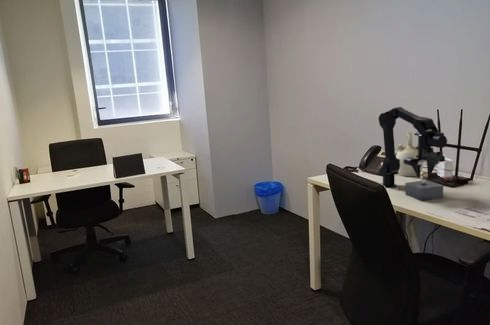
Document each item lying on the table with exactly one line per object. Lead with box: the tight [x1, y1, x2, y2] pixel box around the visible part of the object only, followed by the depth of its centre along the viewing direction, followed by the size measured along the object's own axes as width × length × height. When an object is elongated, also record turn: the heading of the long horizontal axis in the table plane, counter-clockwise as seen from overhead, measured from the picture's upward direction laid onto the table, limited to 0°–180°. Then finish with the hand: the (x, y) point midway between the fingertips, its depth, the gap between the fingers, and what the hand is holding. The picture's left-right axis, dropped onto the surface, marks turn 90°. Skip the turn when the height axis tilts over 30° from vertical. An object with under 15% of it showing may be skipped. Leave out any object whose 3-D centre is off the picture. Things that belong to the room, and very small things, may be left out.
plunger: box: [419, 170, 429, 185], centre depth 189 cm, size 9×9×8 cm
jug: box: [395, 132, 424, 177], centre depth 231 cm, size 15×16×25 cm
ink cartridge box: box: [436, 154, 454, 179], centre depth 214 cm, size 9×5×15 cm, turn 178°
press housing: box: [404, 179, 444, 202], centre depth 190 cm, size 12×12×6 cm
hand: (424, 177), depth 189 cm, fingers open, 6 cm apart
